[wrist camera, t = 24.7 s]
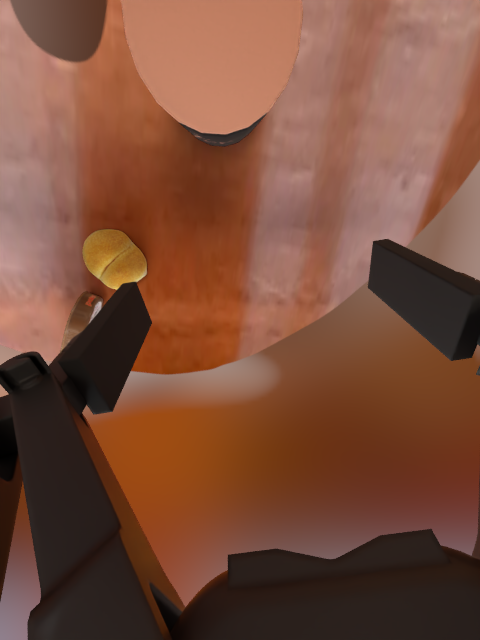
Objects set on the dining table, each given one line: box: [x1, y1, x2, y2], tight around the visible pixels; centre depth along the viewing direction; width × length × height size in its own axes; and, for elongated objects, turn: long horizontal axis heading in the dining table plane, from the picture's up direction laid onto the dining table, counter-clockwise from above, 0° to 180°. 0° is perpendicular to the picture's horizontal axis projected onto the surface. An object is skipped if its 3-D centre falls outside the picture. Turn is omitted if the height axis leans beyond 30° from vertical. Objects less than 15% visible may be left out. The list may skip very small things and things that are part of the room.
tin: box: [60, 291, 103, 353], centre depth 42 cm, size 15×3×8 cm, turn 153°
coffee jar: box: [121, 0, 303, 146], centre depth 23 cm, size 11×11×18 cm
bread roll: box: [82, 229, 147, 289], centre depth 39 cm, size 8×9×4 cm
